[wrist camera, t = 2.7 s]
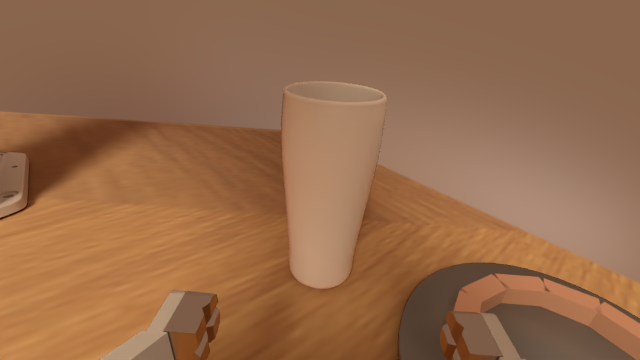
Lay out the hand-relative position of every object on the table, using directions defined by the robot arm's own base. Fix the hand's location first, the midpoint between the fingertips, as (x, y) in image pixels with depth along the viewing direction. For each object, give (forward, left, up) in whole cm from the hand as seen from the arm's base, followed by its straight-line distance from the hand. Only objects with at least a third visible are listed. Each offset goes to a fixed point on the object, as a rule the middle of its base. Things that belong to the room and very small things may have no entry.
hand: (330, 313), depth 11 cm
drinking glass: (-11, +6, -10) cm, 16 cm away
